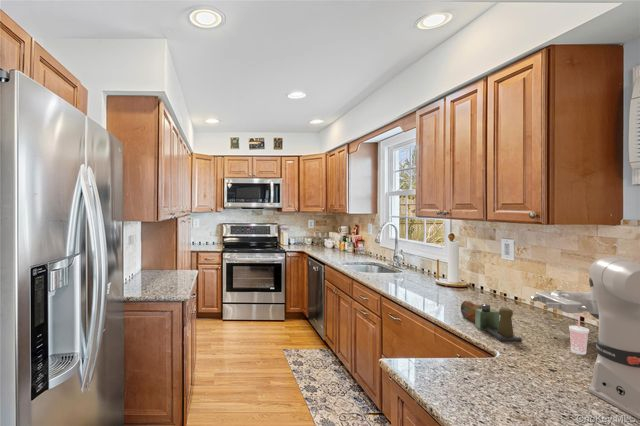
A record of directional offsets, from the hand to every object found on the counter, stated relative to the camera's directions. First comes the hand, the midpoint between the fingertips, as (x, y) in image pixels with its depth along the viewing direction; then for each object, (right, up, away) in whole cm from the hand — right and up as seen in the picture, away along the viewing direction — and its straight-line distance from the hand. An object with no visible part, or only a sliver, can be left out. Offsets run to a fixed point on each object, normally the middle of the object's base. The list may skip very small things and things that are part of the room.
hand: (538, 302), depth 146 cm
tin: (-19, -14, +19) cm, 31 cm away
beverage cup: (+5, -15, -16) cm, 22 cm away
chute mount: (-17, -14, +2) cm, 22 cm away
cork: (-15, -14, -1) cm, 20 cm away
